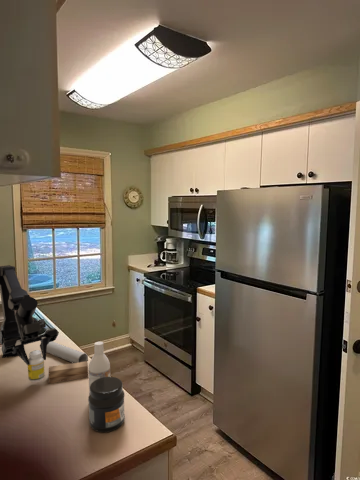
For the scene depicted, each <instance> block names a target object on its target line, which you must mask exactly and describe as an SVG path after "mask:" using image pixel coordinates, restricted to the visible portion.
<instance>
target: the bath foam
mask: <svg viewBox="0 0 360 480" xmlns="http://www.w3.org/2000/svg"><path fill="white" fill-rule="evenodd" d="M93 345H94V349H93V350H94V351H93V352H94V354H93V356H92V357H91V359H90V361H89V363H88V393H89V395H90V385H91V384H92V383H93V382H94V381H95V380H97V379H99V378H103V377H111V363H110V360H109V358H108V357H107V355H106V354H105V351H104V341H96V342H94V344H93ZM89 395H88V396H89Z"/></svg>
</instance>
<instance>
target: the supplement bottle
mask: <svg viewBox="0 0 360 480" xmlns="http://www.w3.org/2000/svg"><path fill="white" fill-rule="evenodd" d="M28 355H29V357H28V360H29V365H27V376H28V381H30V382H31V383H35V382H40V381H42V380H43V379H44V378H45V376H46V375H45V360H44V358H43V356H42V352H41V349H40V350H39V349H38V350H32V351H30V352H29V354H28Z"/></svg>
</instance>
